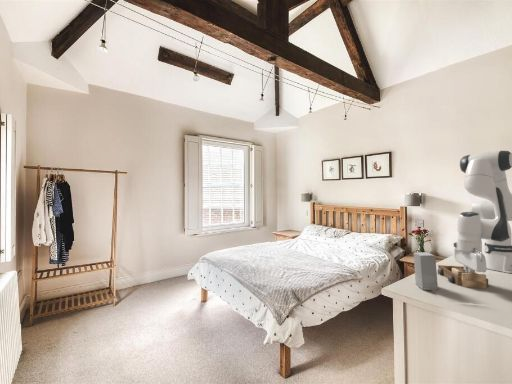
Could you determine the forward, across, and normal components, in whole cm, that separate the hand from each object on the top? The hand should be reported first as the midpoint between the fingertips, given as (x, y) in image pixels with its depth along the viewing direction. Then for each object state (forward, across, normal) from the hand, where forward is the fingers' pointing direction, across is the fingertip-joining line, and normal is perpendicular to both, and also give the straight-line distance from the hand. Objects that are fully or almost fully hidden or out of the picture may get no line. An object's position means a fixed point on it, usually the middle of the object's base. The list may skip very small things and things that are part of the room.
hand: (469, 276), depth 121 cm
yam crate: (+3, +8, 0) cm, 9 cm away
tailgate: (+4, -3, 0) cm, 5 cm away
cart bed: (+5, +8, 0) cm, 10 cm away
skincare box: (+5, -7, +21) cm, 23 cm away
